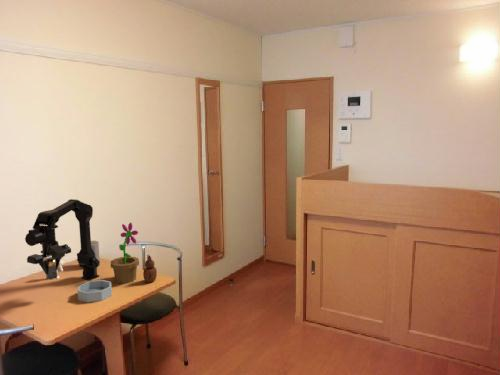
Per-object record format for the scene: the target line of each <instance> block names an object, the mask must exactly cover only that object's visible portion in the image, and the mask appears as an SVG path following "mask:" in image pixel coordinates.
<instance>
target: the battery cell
mask: <svg viewBox="0 0 500 375" xmlns="http://www.w3.org/2000/svg"><path fill="white" fill-rule="evenodd" d="M46 260H48V261H49V262H48V263H47V266H48V274H45V276H46V280H51V279H53V280H55V279H56V278H57V269H56V258H54V257H52V256H50V257H47V258H46Z"/></svg>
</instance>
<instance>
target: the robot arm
mask: <svg viewBox="0 0 500 375" xmlns="http://www.w3.org/2000/svg"><path fill="white" fill-rule="evenodd" d="M70 212H74V215H75V218H76V220H77V222H78V224H79V226H78V228H79V241H80V250H79V252H77V253H76V261H77V263H78V265H79V267H80V268H82V267H83V268H82V276H81V279H83V280H86V281H87V280H88V281H93V280H94V279H97V278H99V277H100V274H98V267H99V266H100V265H99V264H100V263H101V262H100V259H99V260H98V259H96V257H95V253H94V251H93V250H92V248H91V241H92V239H91V237H92V236H91V225H90V223H91V222H90V221H91V219H92V218H93V213H94V209H93V206H91V204H88V203H85V202H83V201H81V200H78V199H71V198H70V199H68V200H67V201H66V202H64V203H62V204H59V205H58V206H56V207H55V208H53V209H50V210H49V209H48V210H44V211H41V212H39V213H38V214H37V216H36V218H35V221H34V224H33V226H32V229H29V230H28V233H26V235H25V238H24V240H25V243H26V244H27V245H28V246H29V247H33V246H36V245H38V244H39V245H41V247H42V248H41V250H40V253H41V254H36V253H34V254H31V255H28V256H27V258H26V263H29V264H33V265H39V266H40V268H41V269H42V270H43V272H44V274H45V275H46V274H48V266H47V263H48V262H49V261H48V260H46V258H49V257H54V258H56V269H59V262H60V260H61V261H62V258H64V257H65V256H66V255H68V254H71V253H72V248H71V246H69V245H68V244H67V243H66V244H63V245H62V244H61V245H59V241H58V240H57V238H56V229H58V228H59V226H58V225H57V223H58V222H60V218H61V217H63V216H64V215H66V214H68V213H70Z"/></svg>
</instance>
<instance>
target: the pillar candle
mask: <svg viewBox="0 0 500 375" xmlns="http://www.w3.org/2000/svg"><path fill="white" fill-rule="evenodd" d="M99 244H100V243H99V241H98V240H91V248H92V250H93V251H94V253H95V257H96V259H98V260H99V261H100V246H99ZM99 266H100V264H99ZM81 268H82V269H83V267H81Z"/></svg>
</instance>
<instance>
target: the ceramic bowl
mask: <svg viewBox="0 0 500 375" xmlns="http://www.w3.org/2000/svg"><path fill="white" fill-rule="evenodd" d="M112 286H113V285H112V282H111V281H110V280H104V279H99V280H88V281H87V282H85V283H82V284H79V285H78V288H77V300H78V301H80V302H83V303H95V302H102V301H104V300H106V299H107V298H110V297H112V296H113V295H112V294H113V290H112V288H113V287H112Z"/></svg>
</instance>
